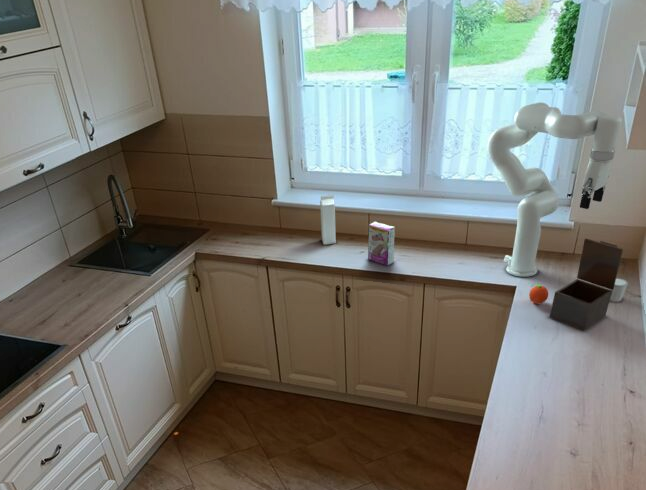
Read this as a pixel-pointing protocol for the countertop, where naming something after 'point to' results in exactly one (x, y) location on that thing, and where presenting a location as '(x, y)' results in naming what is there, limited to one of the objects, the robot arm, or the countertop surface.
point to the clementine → (538, 294)
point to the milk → (328, 219)
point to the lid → (599, 263)
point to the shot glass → (618, 290)
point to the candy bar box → (381, 243)
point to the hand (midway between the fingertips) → (590, 204)
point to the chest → (580, 304)
